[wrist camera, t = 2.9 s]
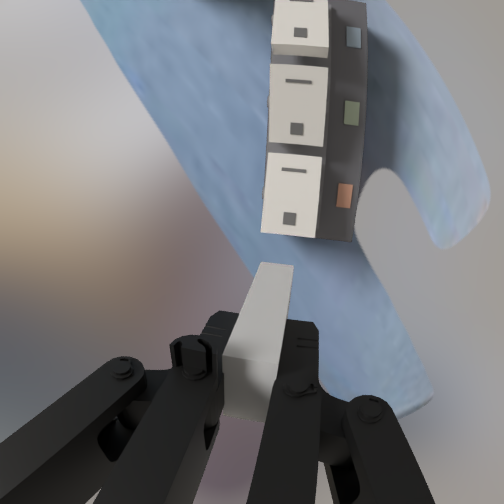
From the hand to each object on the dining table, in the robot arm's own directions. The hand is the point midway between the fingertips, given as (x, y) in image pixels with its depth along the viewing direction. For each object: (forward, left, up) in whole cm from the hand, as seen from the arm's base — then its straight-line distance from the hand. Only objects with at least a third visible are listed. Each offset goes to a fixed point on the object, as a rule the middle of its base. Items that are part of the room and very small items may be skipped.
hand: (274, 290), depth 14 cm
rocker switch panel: (-10, +1, -18) cm, 20 cm away
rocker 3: (-3, 0, -10) cm, 11 cm away
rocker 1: (-17, 0, -10) cm, 20 cm away
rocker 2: (-10, 0, -10) cm, 14 cm away
